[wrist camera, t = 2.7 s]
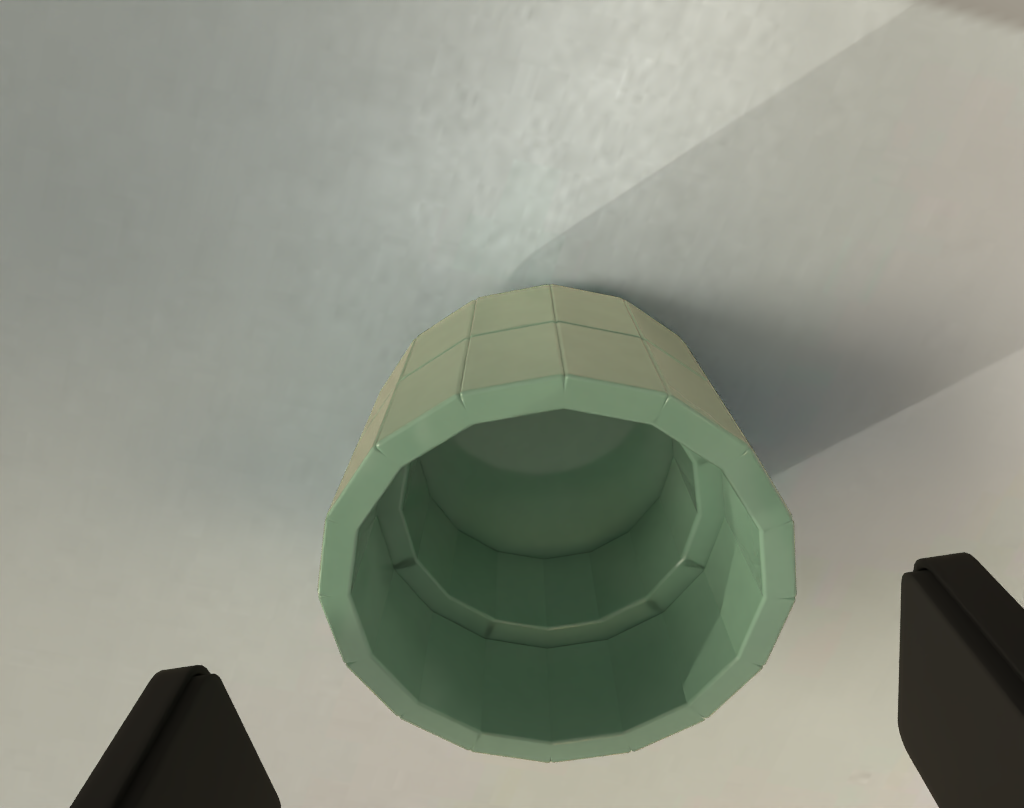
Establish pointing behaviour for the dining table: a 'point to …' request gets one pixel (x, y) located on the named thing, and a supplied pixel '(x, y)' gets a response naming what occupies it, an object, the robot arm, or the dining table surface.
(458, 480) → the bowl
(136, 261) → the dining table surface
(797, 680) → the dining table surface
